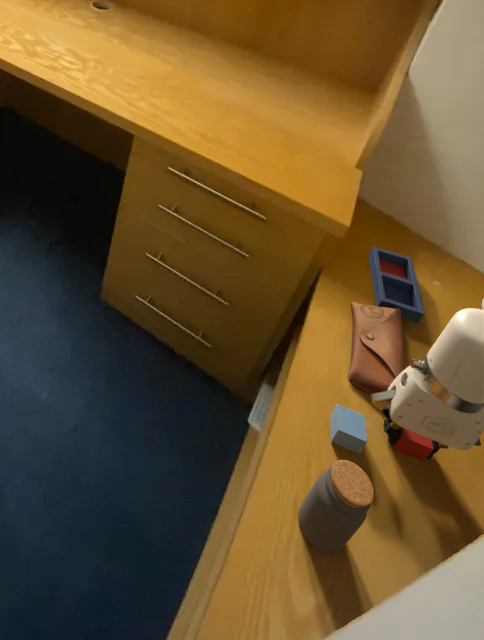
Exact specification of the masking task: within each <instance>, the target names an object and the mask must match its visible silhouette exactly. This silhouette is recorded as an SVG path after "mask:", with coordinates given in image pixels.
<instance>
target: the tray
mask: <svg viewBox="0 0 484 640" xmlns="http://www.w3.org/2000/svg"><path fill="white" fill-rule="evenodd" d="M368 262H369V268H370V276H371V281H372V288H373V295H374V296H373V297H374V302H375V306H379V307H387V308H393V309H396V308H398V309H400V311H401V318H402V319H403V320H407V321H410V322H413V323H415V324H420V322H421V321H422V320H423V318H424V317H425V315H426V314H425V310H424V305H423V302H422V297H421V293H420V288H419V283H418V279H417V275H416V270H415V267H414V262H413V258H412V257H410V256H406V255H403V254H399V253H396V252H392V251H390V250H386V249H383V248H379V247H376V246H372V248H371V249H370V252H369V254H368Z"/></svg>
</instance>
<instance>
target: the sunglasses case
mask: <svg viewBox="0 0 484 640" xmlns="http://www.w3.org/2000/svg"><path fill="white" fill-rule="evenodd" d="M350 308H351V316H352V332H351V333H352V334H351V354H350V365H349V370H348V375H347V380H348V382H349V383H350V384H351V385H352V386H354V387H356V388H357V389H359V390H361V391H363V392H364V393H366V394H368V395H369V396H371V394H374V393H379V392H384V391H387V390H388V388H389V386H390V385H391V383H392V382H393V381H394V379H395V378H396V377H397V376H398V375H399V374H400V373H401V372H402V371H403V370H405V369H406V355H405V354H406V353H405V338H404V337H405V336H404V325H403V320H402V319H403V318H401V311H400V309H398V308H396V309H393V308H387V307H379V306H376V305H372V304H365V303H359V302H356V301H354V300H352V301H350Z"/></svg>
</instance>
